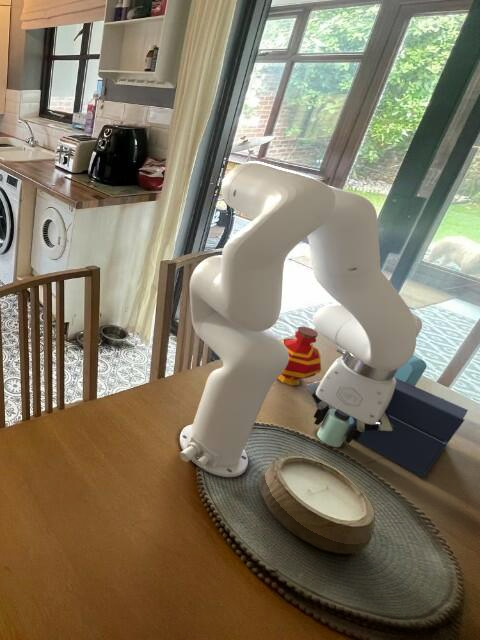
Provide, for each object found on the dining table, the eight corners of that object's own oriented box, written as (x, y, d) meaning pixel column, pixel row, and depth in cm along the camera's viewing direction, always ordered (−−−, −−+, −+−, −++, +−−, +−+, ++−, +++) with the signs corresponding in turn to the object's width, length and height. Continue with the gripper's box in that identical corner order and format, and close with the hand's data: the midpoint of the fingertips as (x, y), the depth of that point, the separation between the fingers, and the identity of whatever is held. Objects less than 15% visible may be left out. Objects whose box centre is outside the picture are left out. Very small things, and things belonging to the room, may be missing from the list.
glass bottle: (336, 450, 87) (352, 423, 84) (313, 436, 90) (327, 409, 87) (344, 441, 89) (359, 414, 86) (321, 428, 92) (335, 401, 89)
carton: (422, 478, 81) (448, 441, 77) (338, 430, 92) (356, 396, 88) (443, 444, 89) (468, 410, 84) (362, 404, 99) (381, 371, 95)
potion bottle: (320, 395, 102) (344, 346, 95) (274, 389, 104) (294, 341, 97) (298, 367, 111) (319, 321, 105) (256, 362, 113) (274, 316, 106)
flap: (448, 441, 77) (447, 442, 77) (357, 396, 88) (356, 397, 87) (464, 419, 73) (463, 420, 73) (367, 374, 84) (366, 375, 83)
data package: (405, 401, 100) (429, 362, 95) (392, 405, 99) (416, 366, 94) (352, 369, 110) (371, 333, 105) (340, 372, 109) (358, 335, 104)
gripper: (310, 347, 86) (281, 411, 93) (422, 398, 73) (378, 468, 80) (325, 336, 89) (296, 399, 97) (435, 383, 76) (391, 451, 84)
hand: (334, 429), depth 89 cm, fingers open, 4 cm apart
